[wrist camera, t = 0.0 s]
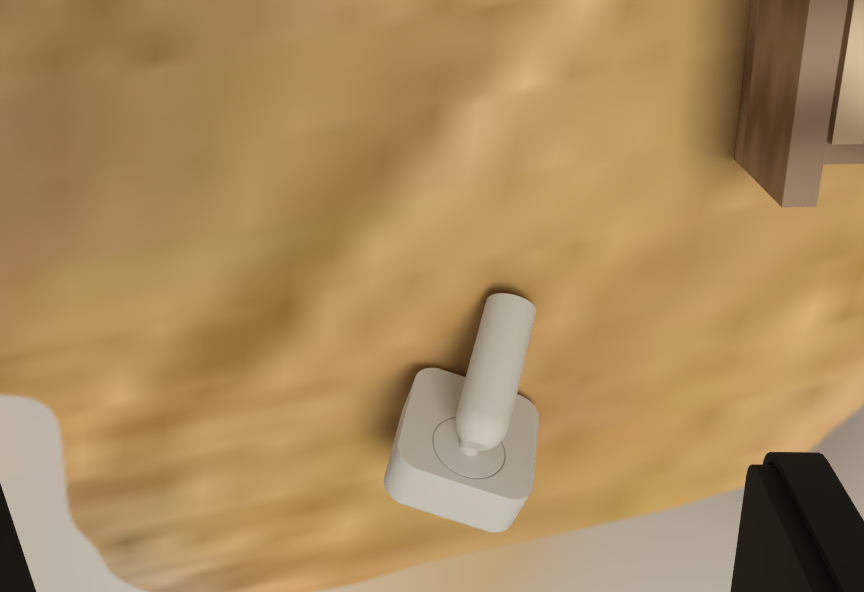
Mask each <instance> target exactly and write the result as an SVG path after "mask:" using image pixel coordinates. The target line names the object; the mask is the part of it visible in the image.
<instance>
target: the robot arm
mask: <svg viewBox="0 0 864 592" xmlns="http://www.w3.org/2000/svg"><path fill="white" fill-rule="evenodd" d="M0 592H36V590H35V587H34V584H33V581H32V578H31V575H30V572H29V569H28V566H27V563H26V560H25V557H24V554H23V551H22V548H21V545H20V542H19V539H18V536H17V532H16V530H15V526H14V524H13V520H12V518H11V514H10V511H9V509H8V505H7V502H6V499H5V496H4V493H3V490H2V487H1V484H0ZM731 592H864V521H863V519H862V517H861V516H860V514H859V512H858V511H857V509H856V507H855V506H854V504H853V502H852V501H851V499H850V497H849V496H848V494H847V492H846V491H845V489H844V487H843V486H842V484H841V482H840V481H839V479H838V477H837V476H836V474H835V472H834V471H833V469H832V467H831V466H830V464H829V462H828V461H827V459H826V458H825V457H824V455H823V454H820V453H805V452H769V453H768V454H766V456H765V458H764V461H763V465H750V466H749V468H748V471H747V475H746V482H745V490H744V497H743V504H742V512H741V520H740V526H739V534H738V542H737V549H736V556H735V563H734V571H733V578H732V585H731Z"/></svg>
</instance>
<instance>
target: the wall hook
mask: <svg viewBox="0 0 864 592" xmlns="http://www.w3.org/2000/svg"><path fill="white" fill-rule="evenodd" d="M535 315H536V308H535V306H534V305H533V304H532V303H531V302H529V301H528V300H526V299H524V298H522V297H520V296H517V295H513V294H507V293H498V294H493V295H491V296H489V297H488V298H487V300H486V304H485V308H484V312H483V315H482V319H481V323H480V326H479V330H478V334H477V338H476V341H475V345H474V349H473V352H472V356H471V360H470V364H469V367H468V371H467V375H466V377H463V376H460V375H457V374H454V373H451V372H448V371H445V370H442V369H439V368H426V369H423V370H421V371H419V372H418V373H417V375H416V377H415V379H414V382H413V384H412V387H411V390H410V392H409V395H408V397H407V400H406V402H405V405H404V407H403V410H402V413H401V417H400V420H399V424H398V428H397V431H396V435H395V439H394V443H393V446H392V450H391V454H390V458H389V461H388V465H387V469H386V473H385V477H384V486H385V489H386V491H387V493H388V494H389V495H390V496H391V497H392V498H393V499H394V500H395V501H397V502H399V503H401V504H404V505H407V506H410V507H413V508H416V509H419V510H422V511H425V512H428V513H432V514H435V515H438V516H441V517H444V518H447V519H450V520H453V521H456V522H459V523H463V524H466V525H469V526H472V527H475V528H479V529H482V530H485V531H488V532H494V533H497V532H502V531H505V530H507V529H508V528H509V527H510V526H511V524H512V523H513V521H514V520H515V518H516V516H517V515H518V513H519V511H520V510H521V508H522V506H523V505H524V503H525V501H526V500H527V498H528V497H529V495H530V493H531V492H532V489H533V484H534V473H535V461H536V449H537V436H538V423H539V414H538V411H537V409H536V407H535V406H534V405H533V404H532V403H531V402H530V401H529V400H528V399H526V398H525V397H523V396H521V395H518V394H517V392H518V387H519V383H520V379H521V375H522V370H523V366H524V362H525V358H526V353H527V349H528V345H529V340H530V336H531V332H532V328H533V323H534V319H535Z"/></svg>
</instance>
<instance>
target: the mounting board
mask: <svg viewBox="0 0 864 592" xmlns="http://www.w3.org/2000/svg"><path fill="white" fill-rule="evenodd" d="M734 159H735V160H736V161H737V162H738V163H739V164H740V165H741V166H742V167H743V168H744V169H745V170H746V171H747V172H748V174H749V175H750V176H751V177H752V178H753V179H754V180H755V181H756V182H757V183H758V184H759V185H760V186H761V187H762V188H763V189H764V190H765V191H766V192H767V193H768V194H769V195H770V196H771V197H772V198H773V199H774V200H775V201H776V202H777V203H778V204H779V205H780V206H781V207H816V206H817V199H818V193H819V186H820V180H821V173H822V167H823V164H861V163H864V0H751V8H750V17H749V27H748V36H747V45H746V55H745V64H744V73H743V83H742V92H741V101H740V110H739V120H738V129H737V138H736V148H735V157H734Z"/></svg>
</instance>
